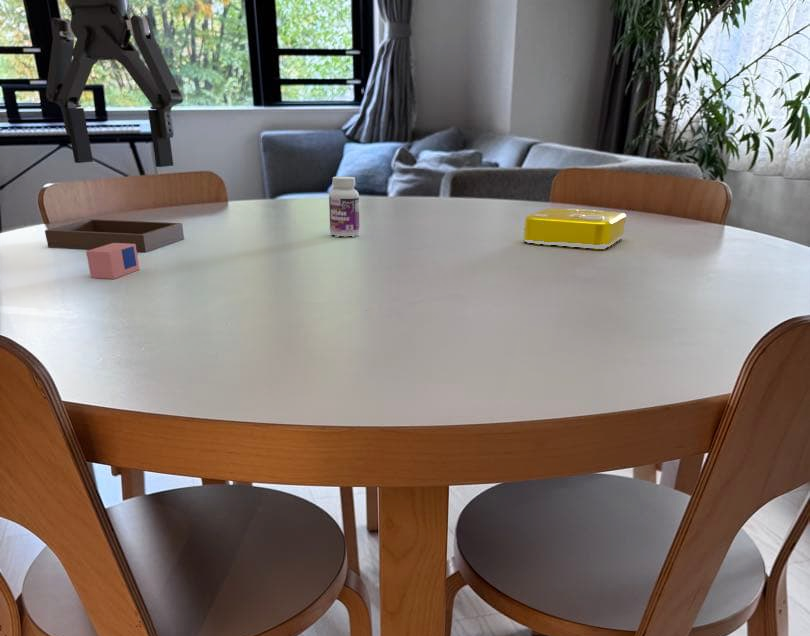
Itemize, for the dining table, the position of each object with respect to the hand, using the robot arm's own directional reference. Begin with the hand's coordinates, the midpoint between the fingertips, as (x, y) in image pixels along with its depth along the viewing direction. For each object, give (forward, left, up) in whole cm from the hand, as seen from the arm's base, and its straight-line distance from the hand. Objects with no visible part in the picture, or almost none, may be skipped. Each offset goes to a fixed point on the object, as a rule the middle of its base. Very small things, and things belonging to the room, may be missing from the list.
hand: (123, 164), depth 102 cm
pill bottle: (+20, +38, -14) cm, 45 cm away
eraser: (-2, -3, -14) cm, 14 cm away
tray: (-15, +20, -14) cm, 28 cm away
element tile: (+61, +43, -14) cm, 76 cm away
